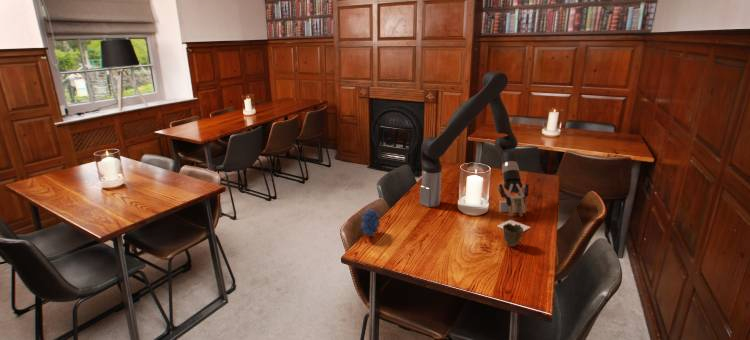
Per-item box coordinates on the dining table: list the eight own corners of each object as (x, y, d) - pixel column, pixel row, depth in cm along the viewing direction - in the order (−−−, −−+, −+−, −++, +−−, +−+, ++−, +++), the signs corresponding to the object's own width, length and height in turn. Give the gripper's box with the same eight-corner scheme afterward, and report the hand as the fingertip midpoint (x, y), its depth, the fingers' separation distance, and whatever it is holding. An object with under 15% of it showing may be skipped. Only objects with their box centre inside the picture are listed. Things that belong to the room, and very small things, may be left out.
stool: (524, 220, 180) (527, 200, 177) (512, 220, 180) (514, 200, 177) (518, 211, 189) (520, 192, 186) (506, 211, 189) (508, 192, 186)
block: (525, 212, 188) (526, 202, 187) (499, 212, 188) (500, 202, 187) (524, 210, 190) (525, 201, 188) (499, 210, 190) (499, 201, 188)
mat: (517, 234, 166) (517, 233, 166) (496, 226, 174) (496, 225, 174) (530, 227, 172) (530, 227, 172) (510, 220, 180) (510, 219, 180)
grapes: (371, 244, 159) (370, 216, 156) (357, 239, 163) (356, 212, 159) (386, 233, 168) (387, 206, 165) (373, 228, 172) (373, 203, 168)
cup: (522, 243, 159) (524, 224, 157) (520, 251, 153) (522, 232, 151) (502, 239, 162) (504, 221, 160) (500, 247, 156) (501, 229, 154)
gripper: (497, 169, 188) (502, 202, 180) (528, 169, 187) (535, 202, 180) (493, 176, 194) (498, 208, 186) (523, 176, 194) (529, 208, 186)
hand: (516, 205), depth 183 cm, fingers closed on stool, 5 cm apart
